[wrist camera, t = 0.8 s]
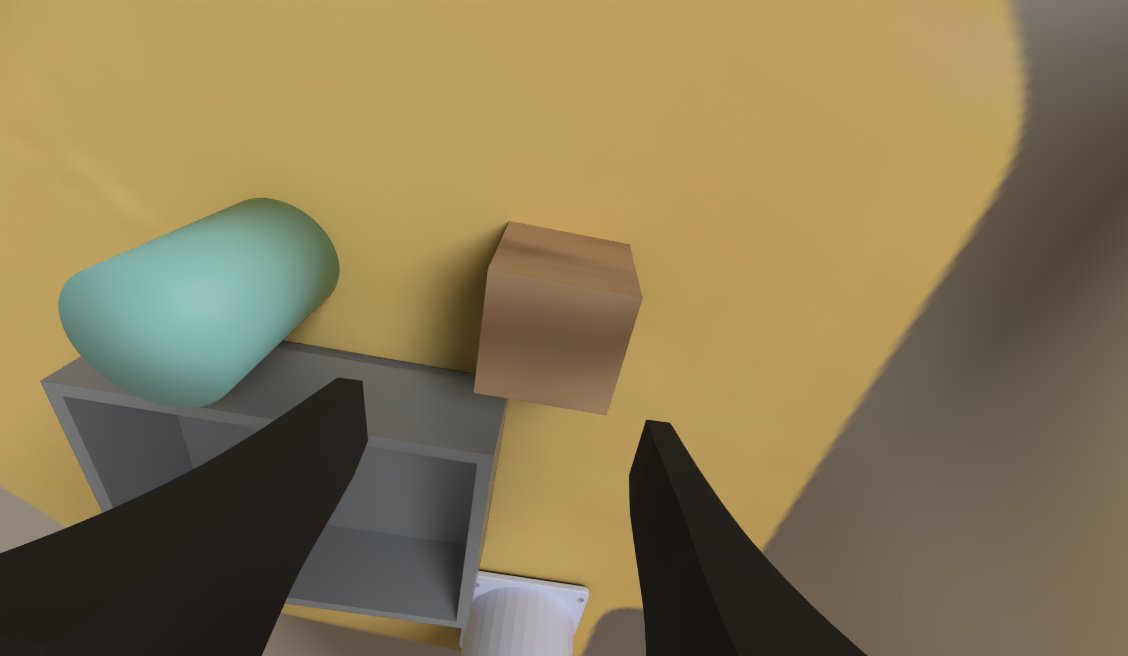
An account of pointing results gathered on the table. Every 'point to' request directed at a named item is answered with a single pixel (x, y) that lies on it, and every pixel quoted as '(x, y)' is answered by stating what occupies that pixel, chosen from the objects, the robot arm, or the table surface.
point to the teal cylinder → (200, 301)
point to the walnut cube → (556, 318)
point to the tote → (375, 494)
